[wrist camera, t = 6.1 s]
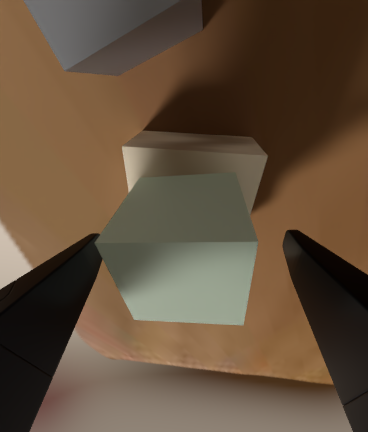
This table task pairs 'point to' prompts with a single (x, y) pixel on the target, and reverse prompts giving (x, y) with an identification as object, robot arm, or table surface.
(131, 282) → the sage block
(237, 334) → the table surface
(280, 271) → the table surface
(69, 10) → the grey block
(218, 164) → the birch slab
